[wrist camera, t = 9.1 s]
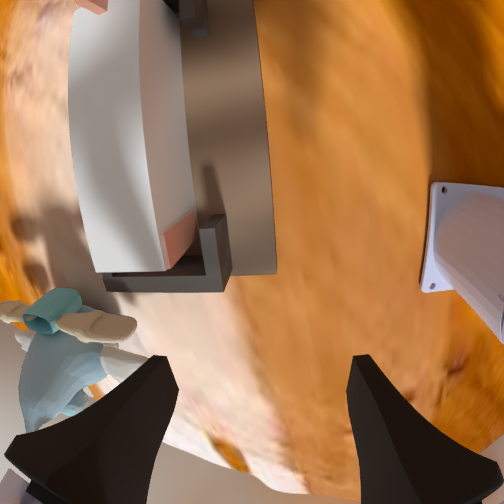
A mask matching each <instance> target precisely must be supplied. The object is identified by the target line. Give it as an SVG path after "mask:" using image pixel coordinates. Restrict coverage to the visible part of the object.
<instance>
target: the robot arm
mask: <svg viewBox="0 0 504 504" xmlns="http://www.w3.org/2000/svg"><path fill="white" fill-rule="evenodd" d="M443 187H444V188H445V190H444V192H443V193H442V188H443ZM432 283H433V285H432V286H431V287H430V285H431V284H432ZM420 289H421V290H422V291H423V292H424V293H427V292H436V291H444V290H452V289H455V290H456V291H457V292H458V294H459V295H460V296H461V297H462V298H463V299H464V300H465V301H466V302H467V303H468V304H469V305H470V306H471V307H472V308H473V310H474V311H475V312H476V313H477V314H478V315H479V316H480V317H481V319H482V320H483V321H484V322H485V323H486V324H487V326H488V327H489V328H490V329H491V330H492V331H493V333H494V334H495V335H496V336H497V337H498V339H499V340H500V341H501V342H502V344H503V345H504V188H503V187H494V186H485V185H474V184H462V183H449V182H434V183H433V184H432V185H431V189H430V208H429V221H428V232H427V241H426V250H425V257H424V264H423V270H422V276H421V282H420ZM178 392H179V388H178V386H177V383H176V381H175V378H174V375H173V373H172V370H171V367H170V364H169V362H168V359H167V356H157V355H153V356H152V357H151V358H149V359H148V360H147V361H146V362H145V363H144V364H142V365H141V366H140V367H139V368H138V369H137V370H136V371H134V372H133V373H132V374H131V375H130V376H129V377H127V378H126V379H125V380H124V381H123V382H122V383H120V384H119V385H118V386H117V387H115V388H114V389H113V390H112V391H110V392H109V393H108V394H106V395H105V396H104V397H102V398H101V399H100V400H98V401H97V402H95V403H94V404H92V405H91V406H90V407H88V408H86V409H84V410H83V411H81V412H79V413H78V414H76V415H74V416H72V417H70V418H68V419H66V420H64V421H62V422H59V423H57V424H54V425H52V426H49V427H47V428H44V429H41V430H37V431H34V432H29V433H26V434H21V435H16V437H15V438H14V440H13V441H12V443H11V444H10V446H9V447H8V449H7V451H6V452H5V454H4V455H5V457H6V458H7V459H8V460H9V461H10V462H11V463H12V464H13V465H14V466H15V467H17V468H18V469H19V470H20V471H21V472H22V473H24V474H25V475H26V476H27V477H28V478H30V479H31V482H30V484H29V483H28V482H27V481H25V480H24V479H23V478H21V477H20V476H19V475H17V474H16V473H15V472H14V471H13V470H11V469H8V471H7V473H6V474H5V476H4V477H3V479H2V481H1V483H0V504H146V502H147V495H148V489H149V484H150V479H151V474H152V470H153V466H154V462H155V459H156V455H157V453H158V450H159V447H160V445H161V442H162V440H163V437H164V435H165V432H166V430H167V427H168V425H169V422H170V420H171V417H172V414H173V412H174V409H175V405H176V401H177V396H178ZM346 393H347V403H348V412H349V417H350V422H351V426H352V431H353V435H354V440H355V444H356V449H357V454H358V459H359V466H360V480H361V504H482V500H483V499H484V498H486V497H487V496H489V495H490V494H491V493H493V492H494V491H496V490H497V489H498V488H499V487H500V486H501V485H502V484H503V482H504V479H503V476H502V473H501V470H500V468H499V465H498V463H497V462H495V461H493V460H491V459H488V458H486V457H483V456H481V455H479V454H477V453H475V452H473V451H471V450H469V449H467V448H465V447H463V446H462V445H460V444H458V443H457V442H455V441H454V440H452V439H451V438H449V437H448V436H447V435H445V434H444V433H442V432H441V431H440V430H438V429H437V428H436V427H434V426H433V425H432V424H431V423H430V422H428V421H427V420H426V419H425V418H424V417H423V416H422V415H421V414H420V413H419V412H417V411H416V410H415V409H414V408H413V407H412V405H411V404H410V403H409V402H408V401H407V400H406V399H405V398H404V397H403V396H402V395H401V394H400V392H399V391H398V390H397V389H396V388H395V387H394V386H393V384H392V383H391V382H390V381H389V380H388V378H387V377H386V376H385V375H384V373H383V372H382V371H381V369H380V368H379V367H378V366H377V364H376V363H375V362H374V360H373V359H372V358H371V356H370V355H369V354H367V355H357V356H353V359H352V365H351V370H350V375H349V380H348V385H347V390H346ZM500 504H504V501H503V502H501V503H500Z"/></svg>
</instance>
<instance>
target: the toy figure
mask: <svg viewBox="0 0 504 504" xmlns="http://www.w3.org/2000/svg"><path fill="white" fill-rule="evenodd" d="M0 319H1V320H3V321H4V322H5V323H11V322H24V323H25V325H26V326H27V327H28V328H29V329H31V330H16V331H15V333H14V335H15V338H16V339H17V341H18V342H19V343H21V348H22V349H23V350H25V351H26V352H27V354H26V357H25V360H24V363H23V366H22V370H21V375H20V380H19V386H18V388H19V401H20V405H21V409H22V413H23V417H24V421H25V428H26V433H29V432H34V431H37V430H39V428H40V427H41V426H42V425H43V424H45V423H47V422H48V421H50V420H52V419H53V418H55V417H56V416H57V415H58V414H59V413H61V412H62V413H63V414H65V415H68V416H74V415H76V414H78V413H79V412H81V411H83V410H84V408H85V406H86V404H87V402H88V401H89V399H88V396H91V397H93V395H92V394H91V392H90V390H89V389H88V387H87V386H89V385H91V384H94V383H97V382H99V381H101V380H102V379H104V378H105V377H106V376H107V375H108V374H110V375H111V376H112V377H113V378H114V379H116V380H117V381H118V382H120V383H122V382H123V381H124V380H125V379H126V378H127V377H129V376H130V375H131V374H132V373H133V372H134V371H136V370H137V369H138V368H139V367H140V366H141V365H142V364H144V363H145V362H146V361H147V360H148V359H149V358H147V357H145V356H142V355H137V354H133V353H130V352H127V351H124V350H120V349H119V346H118V343H120V342H124V341H126V340H128V339H129V338H130V337H131V336H132V335H133V333H134V331H135V330H136V327H137V321H136V320H135V319H134V318H132V317H129V316H124V315H119V314H111V313H106V312H104V311H102V310H96V309H94V308H92V307H90V306H86V305H82V299H81V296H80V294H79V293H78V291H76V290H74V289H72V288H66V287H60V288H55V289H53V290H50V291H49V292H47V293H46V294H45V295H44V296H42V297H41V298H40V299H39V300H37V301H36V302H35V303H34V304H33V305H31V306H29V305H26V304H24V303H23V302H22V301H21V300H18V301H3V302H1V303H0ZM82 389H83V390H84V391H83V390H82Z"/></svg>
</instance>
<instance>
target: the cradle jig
mask: <svg viewBox="0 0 504 504" xmlns="http://www.w3.org/2000/svg"><path fill="white" fill-rule="evenodd" d="M163 1H164V2H165V3H166V4H167V5H168V6H169V7H170V8H171V9H172V11H173V12H174V13H175V14H176V15H177V16H178V17H179V18H180V40H181V60H182V76H183V90H184V103H185V115H186V126H187V136H188V146H189V155H190V164H191V172H192V181H193V189H194V196H195V204H196V211H197V218H198V225H199V234H198V236H199V237H198V238H197V239H196V240H195V241H194V242H193V244H192V245H191V246H190V247H189V248H188V249H187V251H186V252H185V253H184V254H183V255H182V256H181V257H180V259H179V260H178V261H177V262H176V263H175V264H174V266H173V267H172V268H171V269H167V270H166V271H152V272H100V274H101V277H102V278H103V281H104V284H105V287H106V290H107V292H162V293H198V292H224V290H225V287H226V285H227V282H228V280H229V277H230V276H245V275H273V274H277V254H276V238H275V223H274V208H273V194H272V181H271V168H270V156H269V144H268V132H267V121H266V111H265V100H264V90H263V80H262V71H261V61H260V52H259V44H258V35H257V27H256V18H255V10H254V3H253V0H163Z"/></svg>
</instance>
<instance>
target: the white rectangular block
mask: <svg viewBox="0 0 504 504" xmlns="http://www.w3.org/2000/svg"><path fill="white" fill-rule="evenodd" d="M74 3H75V4H77V5H80V6H82V7H81V8H79V9H77V10H75V11H74V14H73V21H72V29H71V38H70V50H69V68H68V110H69V129H70V141H71V151H72V160H73V168H74V175H75V182H76V188H77V194H78V200H79V205H80V210H81V215H82V220H83V225H84V229H85V233H86V238H87V242H88V246H89V250H90V254H91V257H92V261H93V264H94V268H95V271H96V272H152V271H166V270H167V269H171V268H172V267H173V266H174V264H175V263H176V262H177V261H178V260H179V259H180V257H181V256H182V255H183V254H184V253H185V252H186V251H187V249H188V248H189V247H190V246H191V245H192V244H193V242H194V241H195V240H196V239H197V238H198V237H199V236H198V234H199V225H198V218H197V211H196V204H195V196H194V189H193V181H192V172H191V164H190V155H189V146H188V136H187V126H186V115H185V103H184V90H183V76H182V60H181V40H180V18H179V17H178V16H177V15H176V14H175V13H174V12H173V11H172V9H171V8H170V7H169V6H168V5H167V4H166V3H165V2H164V1H163V0H75V2H74Z"/></svg>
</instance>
